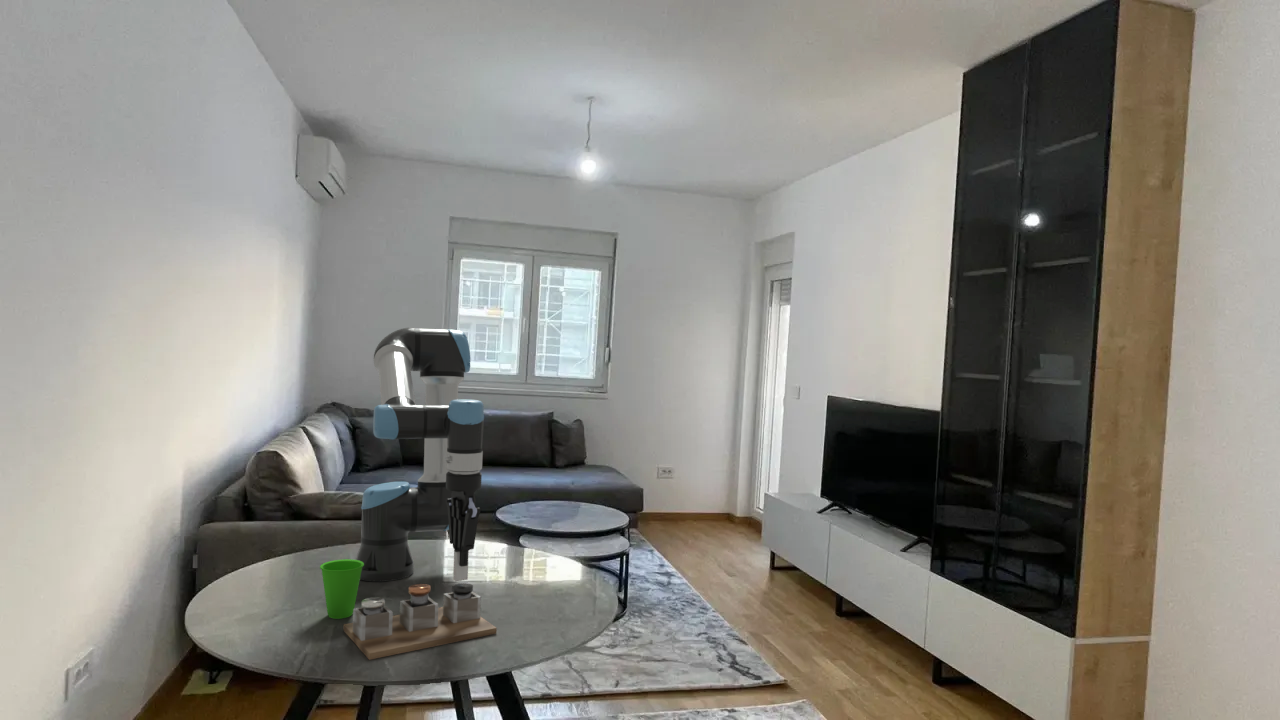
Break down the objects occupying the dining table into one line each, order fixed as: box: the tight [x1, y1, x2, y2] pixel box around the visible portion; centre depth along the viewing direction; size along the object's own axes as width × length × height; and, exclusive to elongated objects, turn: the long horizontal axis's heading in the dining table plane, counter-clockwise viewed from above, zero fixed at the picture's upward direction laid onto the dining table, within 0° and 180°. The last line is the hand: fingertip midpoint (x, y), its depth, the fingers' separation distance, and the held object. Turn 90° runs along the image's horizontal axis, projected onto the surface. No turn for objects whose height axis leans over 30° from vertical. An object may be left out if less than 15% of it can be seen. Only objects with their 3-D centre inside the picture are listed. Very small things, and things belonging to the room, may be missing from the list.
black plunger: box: [451, 582, 474, 600], centre depth 163 cm, size 4×4×5 cm
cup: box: [319, 558, 364, 620], centre depth 165 cm, size 9×9×11 cm
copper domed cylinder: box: [408, 583, 432, 608], centre depth 157 cm, size 4×4×5 cm
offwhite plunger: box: [360, 596, 386, 616], centre depth 152 cm, size 4×4×5 cm
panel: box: [342, 590, 498, 661], centre depth 156 cm, size 18×26×6 cm
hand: (460, 579), depth 163 cm, fingers closed
